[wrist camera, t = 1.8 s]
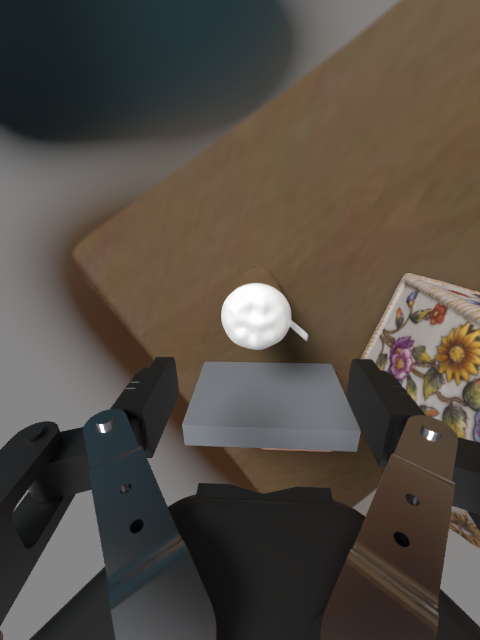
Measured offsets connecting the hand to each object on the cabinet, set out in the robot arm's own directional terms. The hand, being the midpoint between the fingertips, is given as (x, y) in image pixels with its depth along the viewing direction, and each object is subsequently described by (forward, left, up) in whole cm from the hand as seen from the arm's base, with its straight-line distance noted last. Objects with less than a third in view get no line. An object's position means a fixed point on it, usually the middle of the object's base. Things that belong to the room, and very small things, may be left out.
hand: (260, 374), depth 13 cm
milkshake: (0, 0, -14) cm, 14 cm away
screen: (-1, +9, -14) cm, 16 cm away
